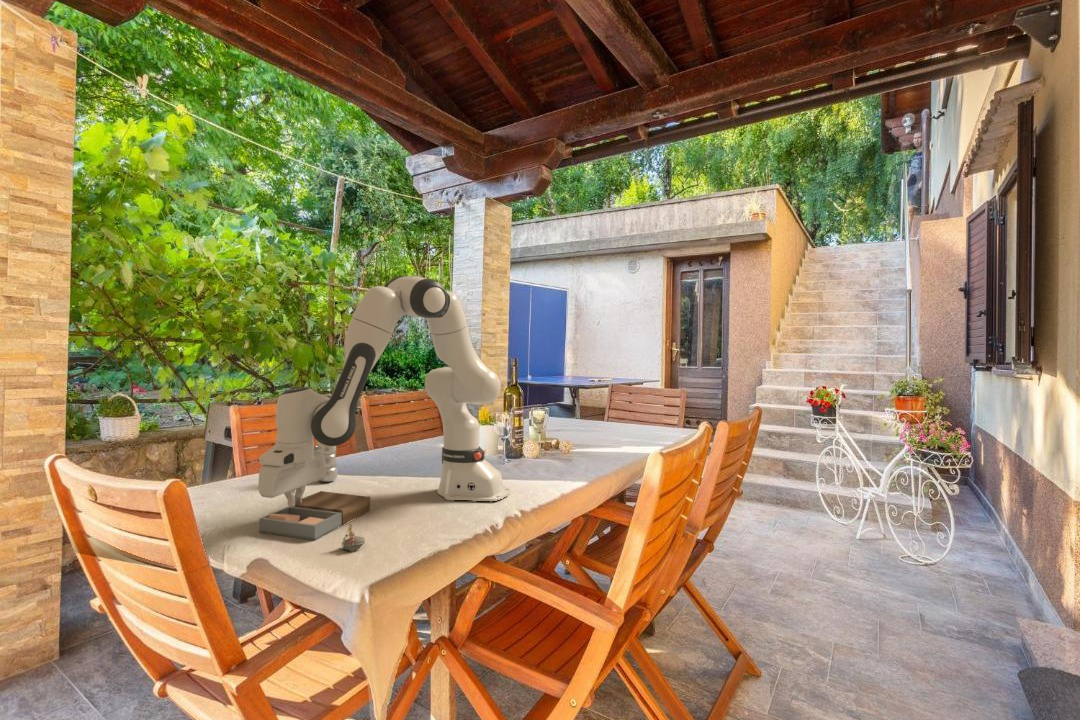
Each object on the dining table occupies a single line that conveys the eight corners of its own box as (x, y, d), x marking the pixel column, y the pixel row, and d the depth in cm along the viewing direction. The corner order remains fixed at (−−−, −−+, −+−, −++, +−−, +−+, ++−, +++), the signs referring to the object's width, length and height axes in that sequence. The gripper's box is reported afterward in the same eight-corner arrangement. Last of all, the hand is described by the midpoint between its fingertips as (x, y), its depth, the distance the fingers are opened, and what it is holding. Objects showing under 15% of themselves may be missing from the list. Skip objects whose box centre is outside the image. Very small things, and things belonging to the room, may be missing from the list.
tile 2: (311, 526, 127) (311, 536, 127) (326, 519, 131) (326, 529, 131) (295, 523, 128) (295, 533, 128) (309, 516, 133) (309, 526, 133)
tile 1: (285, 516, 129) (283, 527, 129) (300, 515, 134) (298, 525, 133) (269, 514, 131) (267, 524, 130) (283, 513, 135) (281, 523, 135)
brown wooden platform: (369, 511, 147) (370, 496, 147) (342, 525, 136) (342, 510, 135) (320, 504, 151) (320, 491, 151) (290, 518, 140) (290, 503, 140)
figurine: (367, 543, 124) (363, 519, 123) (364, 552, 119) (359, 526, 119) (344, 548, 123) (340, 523, 122) (340, 556, 119) (335, 531, 118)
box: (341, 526, 135) (341, 512, 135) (314, 540, 125) (314, 526, 125) (288, 519, 139) (288, 506, 139) (259, 532, 130) (259, 518, 130)
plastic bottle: (328, 477, 180) (328, 419, 179) (341, 480, 176) (342, 421, 175) (311, 482, 174) (312, 421, 173) (325, 485, 171) (325, 423, 170)
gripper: (312, 442, 146) (312, 492, 146) (253, 458, 126) (253, 516, 127) (332, 444, 144) (331, 495, 145) (275, 461, 125) (275, 519, 125)
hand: (294, 505), depth 136 cm, fingers closed
